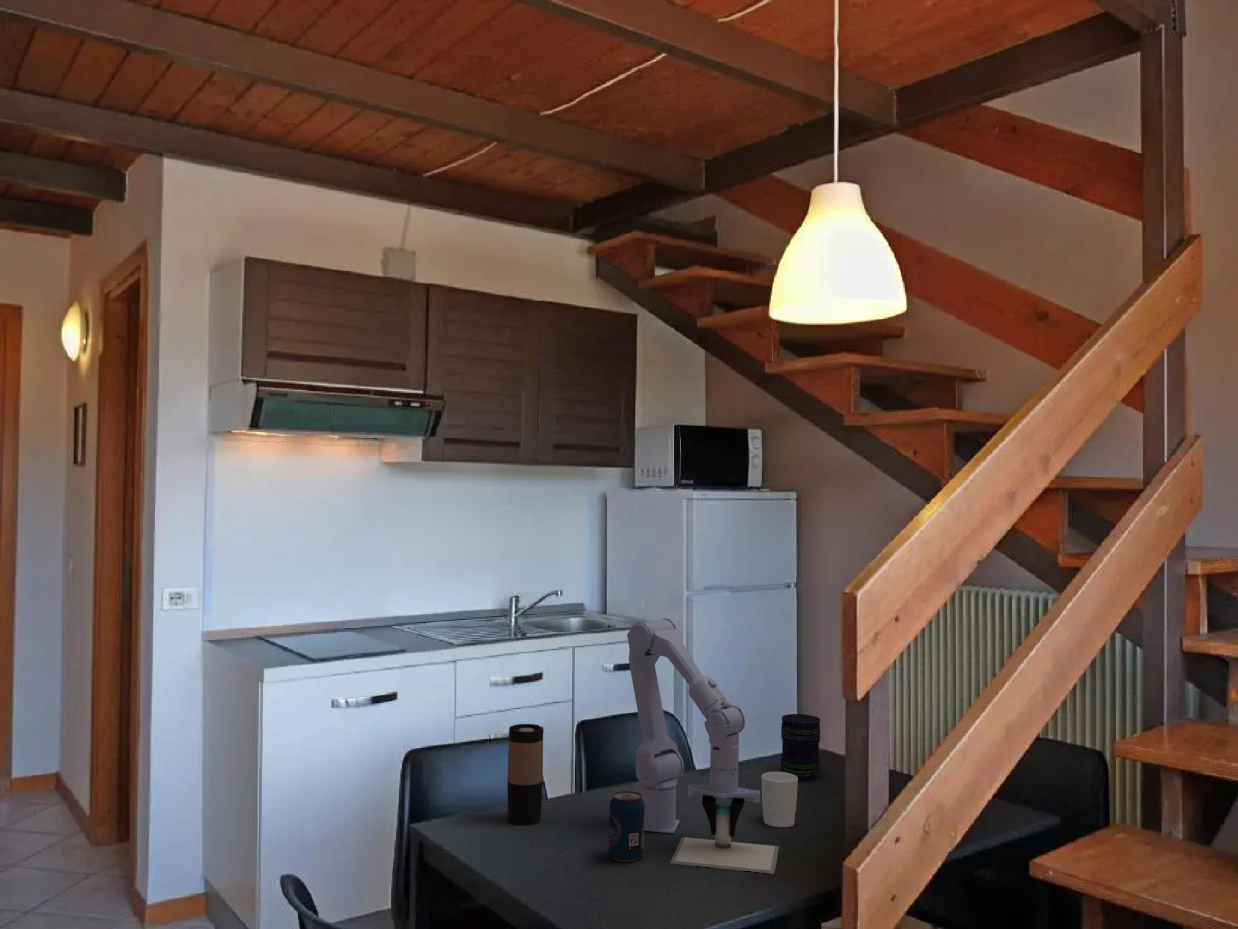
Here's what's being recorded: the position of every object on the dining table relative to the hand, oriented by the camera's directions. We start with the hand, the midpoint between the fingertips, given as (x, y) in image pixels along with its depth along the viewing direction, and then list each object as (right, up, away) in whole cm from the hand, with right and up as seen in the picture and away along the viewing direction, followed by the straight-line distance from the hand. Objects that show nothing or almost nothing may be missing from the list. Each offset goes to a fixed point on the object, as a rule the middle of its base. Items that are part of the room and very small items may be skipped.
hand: (722, 834), depth 202 cm
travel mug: (-42, -2, +14) cm, 44 cm away
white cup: (+14, -4, +16) cm, 22 cm away
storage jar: (+25, -5, +52) cm, 58 cm away
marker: (0, -2, 0) cm, 2 cm away
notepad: (0, -3, -4) cm, 5 cm away
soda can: (-20, -2, -6) cm, 21 cm away
